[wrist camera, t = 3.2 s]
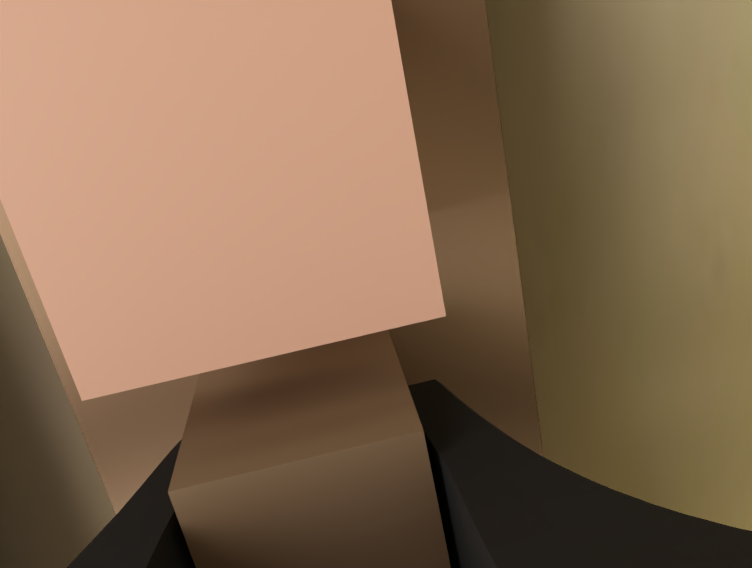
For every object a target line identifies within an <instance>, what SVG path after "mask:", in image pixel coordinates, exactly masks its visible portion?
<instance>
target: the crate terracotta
mask: <svg viewBox="0 0 752 568" xmlns="http://www.w3.org/2000/svg"><path fill="white" fill-rule="evenodd" d="M0 200H1V202H2V204H3V207H4V209H5V212H6V214H7V217H8V219H9V222H10V224H11V227H12V229H13V232H14V234H15V237H16V239H17V242H18V244H19V247H20V249H21V251H22V254H23V256H24V259H25V261H26V264H27V266H28V269H29V271H30V274H31V276H32V279H33V281H34V284H35V286H36V289H37V291H38V294H39V296H40V298H41V301H42V303H43V306H44V308H45V311H46V313H47V316H48V318H49V321H50V323H51V326H52V328H53V331H54V333H55V336H56V338H57V341H58V343H59V345H60V348H61V350H62V353H63V355H64V358H65V360H66V363H67V365H68V368H69V370H70V373H71V375H72V378H73V380H74V383H75V385H76V387H77V390H78V392H79V395H80V397H81V400H82V401H84V400H88V399H93V398H97V397H101V396H106V395H110V394H114V393H118V392H123V391H127V390H131V389H136V388H140V387H144V386H149V385H153V384H157V383H161V382H166V381H170V380H174V379H179V378H183V377H187V376H191V375H196V374H200V373H204V372H209V371H213V370H217V369H221V368H226V367H230V366H234V365H239V364H243V363H247V362H251V361H256V360H260V359H264V358H269V357H273V356H277V355H282V354H286V353H290V352H294V351H299V350H303V349H307V348H312V347H316V346H320V345H324V344H329V343H333V342H337V341H342V340H346V339H350V338H354V337H359V336H363V335H367V334H372V333H376V332H380V331H384V330H389V329H393V328H397V327H402V326H406V325H410V324H414V323H419V322H423V321H427V320H432V319H436V318H440V317H445V316H446V313H445V307H444V301H443V295H442V290H441V284H440V278H439V272H438V267H437V261H436V255H435V249H434V244H433V238H432V232H431V226H430V221H429V215H428V209H427V203H426V198H425V192H424V186H423V180H422V175H421V169H420V163H419V157H418V152H417V146H416V140H415V134H414V129H413V123H412V117H411V111H410V106H409V100H408V94H407V88H406V83H405V77H404V71H403V65H402V60H401V54H400V48H399V42H398V37H397V31H396V25H395V19H394V14H393V8H392V2H391V0H0Z"/></svg>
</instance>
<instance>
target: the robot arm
mask: <svg viewBox="0 0 752 568" xmlns="http://www.w3.org/2000/svg"><path fill="white" fill-rule="evenodd" d="M408 388H409V391H410V394H411V396H412V399H413V402H414V405H415V408H416V411H417V413H418V416H419V419H420V422H421V425H422V428H423V430H424V435H425V440H426V445H427V450H428V455H429V460H430V465H431V470H432V475H433V480H434V485H435V490H436V495H437V500H438V505H439V511H440V516H441V521H442V526H443V531H444V536H445V541H446V546H447V551H448V556H449V561H450V566H451V568H752V531H748V530H743V529H739V528H735V527H730V526H726V525H723V524H719V523H715V522H712V521H708V520H704V519H700V518H697V517H693V516H689V515H686V514H682V513H679V512H676V511H672V510H669V509H666V508H663V507H660V506H656V505H653V504H650V503H648V502H645V501H642V500H640V499H637V498H634V497H631V496H629V495H626V494H623V493H620V492H618V491H615V490H612V489H610V488H608V487H605V486H603V485H600V484H598V483H595V482H593V481H591V480H589V479H587V478H584V477H582V476H580V475H578V474H576V473H574V472H572V471H570V470H568V469H566V468H563V467H561V466H559V465H557V464H555V463H553V462H551V461H550V460H548V459H546V458H544V457H542V456H540V455H539V454H537V453H535V452H534V451H532V450H530V449H529V448H527V447H526V446H524V445H522V444H521V443H519V442H518V441H516V440H515V439H513V438H511V437H510V436H508V435H507V434H506V433H504V432H503V431H501V430H500V429H499V428H497V427H496V426H494V425H493V424H491V423H490V422H489V421H487V420H486V419H484V418H483V417H482V416H480V415H479V414H478V413H476V412H475V411H474V410H473V409H471V408H470V407H469V406H468V405H466V404H465V403H464V402H463V401H461V400H460V399H459V398H458V397H457V396H455V395H454V394H453V393H452V392H451V391H450V390H449V389H447V388H446V387H445V386H444V385H443V384H442V383H440V382H439V381H437V380H435V379H434V380H429V381H425V382H421V383H417V384H413V385H408ZM181 441H182V439H181V440H180V441H179V442H178V443H177V444H176V445H175V447H174V448H173V449H172V450H171V451H170V452H169V453H168V454H167V456H166V457H165V458H164V459H163V460H162V462H161V463H160V464H159V465H158V466H157V468H156V469H155V470H154V471H153V472H152V474H151V475H150V476H149V477H148V478H147V480H146V481H145V482H144V483H143V484H142V485H141V487H140V488H139V489H138V490H137V491H136V492H135V494H134V495H133V496H132V497H131V498H130V499H129V501H128V502H127V503H126V504H125V505H124V507H123V508H122V509H121V510H120V511H119V512H118V514H117V515H116V516H115V517H114V518H113V519H112V520H111V521H110V522H109V523H108V525H107V526H106V527H105V528H104V529H103V530H102V531H101V532H100V533H99V534H98V535H97V536H96V537H95V538H94V539H93V541H92V542H91V543H90V544H89V545H88V546H87V547H86V548H85V549H84V550H83V551H82V552H81V553H80V554H79V555H78V557H77V558H76V559H75V560H74V561H73V562H72V563H71V564H70V565H69V566H68V567H67V568H196V567H195V564H194V561H193V559H192V556H191V553H190V551H189V548H188V545H187V543H186V540H185V537H184V535H183V532H182V529H181V526H180V524H179V521H178V518H177V516H176V513H175V510H174V508H173V505H172V502H171V500H170V497H169V494H168V489H169V485H170V482H171V478H172V474H173V471H174V467H175V463H176V459H177V456H178V452H179V448H180V445H181Z"/></svg>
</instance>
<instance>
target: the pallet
mask: <svg viewBox="0 0 752 568" xmlns="http://www.w3.org/2000/svg"><path fill="white" fill-rule="evenodd" d="M391 2H392V8H393V14H394V19H395V25H396V31H397V37H398V42H399V48H400V54H401V60H402V65H403V71H404V77H405V83H406V88H407V94H408V100H409V106H410V111H411V117H412V123H413V129H414V134H415V140H416V146H417V152H418V157H419V163H420V169H421V175H422V180H423V186H424V192H425V198H426V203H427V209H428V215H429V221H430V226H431V232H432V238H433V244H434V249H435V255H436V261H437V267H438V272H439V278H440V284H441V290H442V295H443V301H444V307H445V313H446V316H445V317H440V318H436V319H432V320H427V321H423V322H419V323H414V324H410V325H406V326H402V327H397V328H393V329H389V330H384V331H380V332H376V333H372V334H367V335H363V336H359V337H354V338H350V339H346V340H342V341H337V342H333V343H329V344H324V345H320V346H316V347H312V348H307V349H303V350H299V351H294V352H290V353H286V354H282V355H277V356H273V357H269V358H264V359H260V360H256V361H251V362H247V363H243V364H239V365H234V366H230V367H226V368H221V369H217V370H213V371H209V372H204V373H200V374H196V375H191V376H187V377H183V378H179V379H174V380H170V381H166V382H161V383H157V384H153V385H149V386H144V387H140V388H136V389H131V390H127V391H123V392H118V393H114V394H110V395H106V396H101V397H97V398H93V399H88V400H84V401H82V400H81V397H80V395H79V392H78V390H77V387H76V385H75V383H74V380H73V378H72V375H71V373H70V370H69V368H68V365H67V363H66V360H65V358H64V355H63V353H62V350H61V348H60V345H59V343H58V341H57V338H56V336H55V333H54V331H53V328H52V326H51V323H50V321H49V318H48V316H47V313H46V311H45V308H44V306H43V303H42V301H41V298H40V296H39V294H38V291H37V289H36V286H35V284H34V281H33V279H32V276H31V274H30V271H29V269H28V266H27V264H26V261H25V259H24V256H23V254H22V251H21V249H20V247H19V244H18V242H17V239H16V237H15V234H14V232H13V229H12V227H11V224H10V222H9V219H8V217H7V214H6V212H5V209H4V207H3V204H2V202H1V200H0V235H1V237H2V240H3V242H4V244H5V247H6V249H7V252H8V254H9V257H10V259H11V261H12V264H13V266H14V269H15V271H16V274H17V276H18V278H19V281H20V283H21V286H22V288H23V291H24V293H25V295H26V298H27V300H28V303H29V305H30V308H31V310H32V312H33V315H34V317H35V320H36V322H37V325H38V327H39V329H40V332H41V334H42V337H43V339H44V342H45V344H46V346H47V349H48V351H49V354H50V356H51V359H52V361H53V363H54V366H55V368H56V371H57V373H58V376H59V378H60V380H61V383H62V385H63V388H64V390H65V393H66V395H67V397H68V400H69V402H70V405H71V407H72V410H73V412H74V414H75V417H76V419H77V422H78V424H79V427H80V429H81V431H82V434H83V436H84V439H85V441H86V444H87V446H88V448H89V451H90V453H91V456H92V458H93V461H94V463H95V465H96V468H97V470H98V473H99V475H100V478H101V480H102V482H103V485H104V487H105V490H106V492H107V495H108V497H109V499H110V502H111V504H112V507H113V509H114V512H115V514H116V515H117V514H118V512H119V511H120V510H121V509H122V508H123V507H124V505H125V504H126V503H127V502H128V501H129V499H130V498H131V497H132V496H133V495H134V494H135V492H136V491H137V490H138V489H139V488H140V487H141V485H142V484H143V483H144V482H145V481H146V480H147V478H148V477H149V476H150V475H151V474H152V472H153V471H154V470H155V469H156V468H157V466H158V465H159V464H160V463H161V462H162V460H163V459H164V458H165V457H166V456H167V454H168V453H169V452H170V451H171V450H172V449H173V448H174V447H175V445H176V444H177V443H178V442H179V441H180V440H181V439H182V441H181V445H180V448H179V452H178V456H177V459H176V463H175V467H174V471H173V474H172V478H171V482H170V485H169V489H168V494H169V497H170V500H171V502H172V505H173V508H174V510H175V513H176V516H177V518H178V521H179V524H180V526H181V529H182V532H183V535H184V537H185V540H186V543H187V545H188V548H189V551H190V553H191V556H192V559H193V561H194V564H195V567H196V568H451V566H450V561H449V556H448V551H447V546H446V541H445V536H444V531H443V526H442V521H441V516H440V511H439V505H438V500H437V495H436V490H435V485H434V480H433V475H432V470H431V465H430V460H429V455H428V450H427V445H426V440H425V435H424V430H423V428H422V425H421V422H420V419H419V416H418V413H417V411H416V408H415V405H414V402H413V399H412V396H411V394H410V391H409V388H408V385H413V384H417V383H421V382H425V381H429V380H434V379H435V380H437V381H439V382H440V383H442V384H443V385H444V386H445V387H446V388H447V389H449V390H450V391H451V392H452V393H453V394H454V395H455V396H457V397H458V398H459V399H460V400H461V401H463V402H464V403H465V404H466V405H468V406H469V407H470V408H471V409H473V410H474V411H475V412H476V413H478V414H479V415H480V416H482V417H483V418H484V419H486V420H487V421H489V422H490V423H491V424H493V425H494V426H496V427H497V428H499V429H500V430H501V431H503V432H504V433H506V434H507V435H508V436H510V437H511V438H513V439H515V440H516V441H518V442H519V443H521V444H522V445H524V446H526V447H527V448H529V449H530V450H532V451H534V452H535V453H537V454H539V455H540V456H542V457H543V450H542V442H541V434H540V427H539V419H538V411H537V403H536V395H535V387H534V380H533V372H532V364H531V356H530V348H529V340H528V333H527V325H526V317H525V309H524V301H523V293H522V286H521V278H520V270H519V262H518V254H517V246H516V239H515V231H514V223H513V215H512V207H511V199H510V192H509V184H508V176H507V168H506V160H505V152H504V145H503V137H502V129H501V121H500V113H499V105H498V98H497V90H496V82H495V74H494V66H493V58H492V51H491V43H490V35H489V27H488V19H487V11H486V3H485V0H391Z"/></svg>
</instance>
